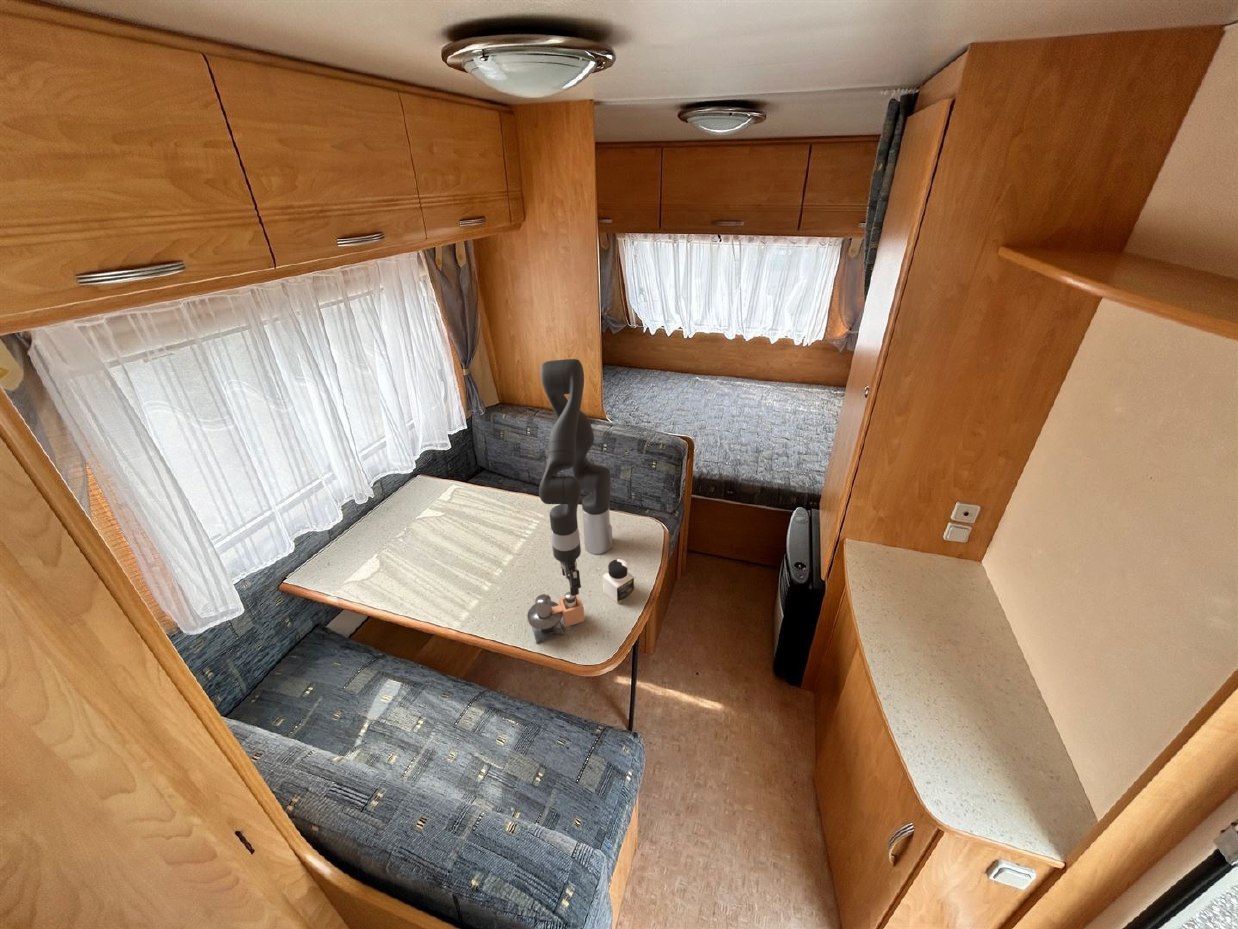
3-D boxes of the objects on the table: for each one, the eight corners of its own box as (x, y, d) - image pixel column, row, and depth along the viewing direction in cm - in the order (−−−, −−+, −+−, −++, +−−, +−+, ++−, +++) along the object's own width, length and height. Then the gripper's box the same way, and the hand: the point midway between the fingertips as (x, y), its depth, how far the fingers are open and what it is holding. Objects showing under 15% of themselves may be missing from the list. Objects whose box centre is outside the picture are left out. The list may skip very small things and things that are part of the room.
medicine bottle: (617, 604, 160) (616, 575, 154) (603, 592, 164) (601, 563, 158) (634, 593, 164) (634, 564, 157) (619, 581, 168) (619, 553, 162)
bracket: (578, 607, 156) (577, 592, 153) (584, 621, 152) (583, 606, 149) (550, 615, 154) (548, 601, 151) (555, 629, 149) (553, 615, 146)
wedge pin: (576, 616, 156) (573, 590, 150) (579, 624, 153) (576, 597, 148) (566, 619, 155) (563, 593, 149) (569, 627, 152) (566, 600, 147)
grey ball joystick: (558, 612, 157) (555, 583, 151) (567, 636, 149) (564, 607, 143) (526, 621, 154) (522, 592, 148) (533, 647, 146) (529, 617, 140)
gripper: (587, 553, 133) (590, 597, 142) (571, 521, 144) (575, 564, 153) (559, 561, 131) (564, 605, 140) (545, 528, 142) (551, 571, 151)
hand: (570, 584), depth 146 cm, fingers open, 8 cm apart
